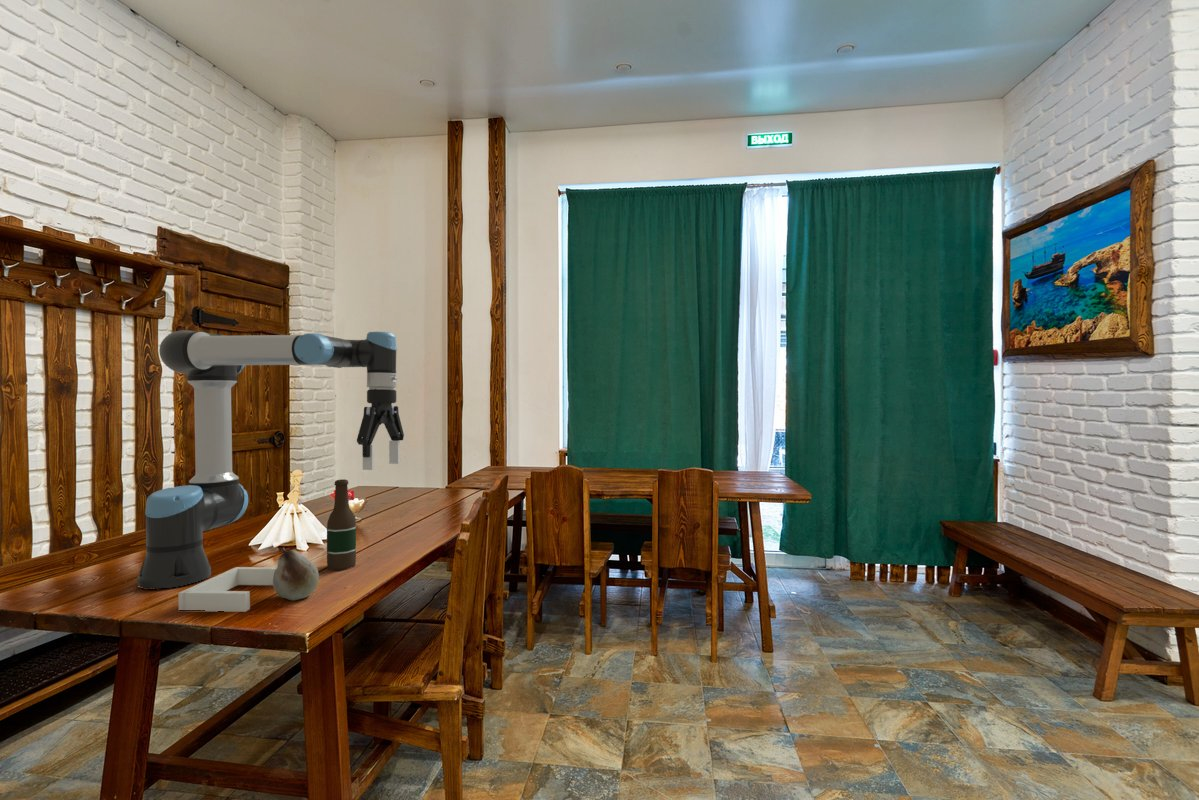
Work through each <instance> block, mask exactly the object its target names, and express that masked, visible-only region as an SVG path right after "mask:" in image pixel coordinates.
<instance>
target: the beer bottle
mask: <svg viewBox="0 0 1199 800" xmlns="http://www.w3.org/2000/svg"><path fill="white" fill-rule="evenodd" d="M348 485H349V480H348V479H337V480H334V488H335V489H334V504H333V510H332V511H331V513H330V514H329V517H328V520H327V523H326V567H327V570H330V569H332V570H331V571H342V569H345V570H349V569H352V568H355V567H354V566H356V564H357V563H356V561H357V522H356V516H355V514H354V512H353V510H352V509H351V508H350V504H349V502H350V501H349V490H348V489H349V487H348ZM351 567H352V568H351ZM348 568H349V569H348Z"/></svg>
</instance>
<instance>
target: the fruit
mask: <svg viewBox="0 0 1199 800" xmlns="http://www.w3.org/2000/svg"><path fill="white" fill-rule="evenodd" d="M280 551H281V552H282V554H281V555H279V557H278V560H277V569H276V570H275V572H274V577H273V585H272V586H273V589H274V591H275V593H276V594H277V595H278V596H279V597H280V598H282V599H287V600H289V601H292V602H293V601H298V600H302V599H305V598H307V597H309V596H310V595H312V594H313V593H314V592H315V590H316V589H317V586H318V585H319V578H320V577H319V576H320V575H319V569H318V567H317V565H316V564H315V563H314V562H312V561H311V560H309V559H308V557H306V556H305V555H303V554H301V553H300V552H298V551H297V550H295V549H289V550H287V551H286V549H285V547H282V546H281V548H280Z"/></svg>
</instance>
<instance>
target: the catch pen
mask: <svg viewBox="0 0 1199 800" xmlns="http://www.w3.org/2000/svg"><path fill="white" fill-rule="evenodd" d="M276 569H277V567H273V566H272V567H270V566H269V567H267V566H265V567H263V566H261V567H260V566H253V567H252V566H249V567H248V566H238V567H237V566H236V567H233V568H231V569H229V570H227V571H225V572H223V573H220V574H218V575H215V576H214V577H211V578H209V579H205V580H203V581H201V582H199V583H196V585H193V586H191V587H189V588H186V589H184V590H182V591H179V592H178V611H179V610H205V611H204V612H218V611H224V612H225V613H226V612H227V613H229V612H233V613H236V612H237V613H239V612H240V613H241V612H243V613H246V612H248V611H249V610H250V609H251V598H250V597H251V594H250V593H251V591H250V590H244V591H243V590H230V589H232V588H235V587H236V586H273V577H274V572H275V570H276ZM224 612H223V613H224Z"/></svg>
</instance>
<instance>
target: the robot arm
mask: <svg viewBox="0 0 1199 800" xmlns="http://www.w3.org/2000/svg"><path fill="white" fill-rule="evenodd" d="M397 350H398V348H397V337H396V335H395V334H394V333H392V332H388V331H368V332H367V334H366V338H365V339H344V338H338V337H334V336H330V335H329V336H328V335H323V334H322V333H316V332H315V333H311V332H309V333H304V334H278V335H277V334H274V335H273V334H271V335H269V334H267V335H265V334H264V335H262V334H260V335H259V334H256V335H254V334H253V335H223V334H217V333H208V332H205V331H195V330H190V329H188V330H186V329H184V330H183V329H182V330H176V331H173V332H171V333H169V334H168V335H166V336H165V337H164V338H163V339H162V341H161V342H160V344H159V357H160V359H161V361H162V364H164V366H166V367H167V368H168V369H169V370H171V371H173V372H176V373H178V374H184V375H186V376H187V377H186V380H187V381H186V382H187V383H188V384H189V385H190V386H191V387H193V389H194V390H193V393H194V394H193V395H194V396H193V397H194V400H193V401H194V402H193V405H194V447H195V449H194V450H195V451H194V452H195V454H194V455H195V464H194V465H195V475H194V476H193V477H191V479H189V480H188V485H179V486H178V485H177V486H174V487H167V488H163V489H159V490H157V491H154V492H152V493H151V494H150V495H149V496H147V498H146V504H145V506H146V507H145V510H144V514H145V546H146V547H145V548H146V549H145V552H146V554H145V556H144V559H143V562H142V564H141V566H140V569H139V573H138V575H137V585H138V586H140V587H143V588H152V589H153V588H154V589H157V590H159V589H158V588H169V589H172V588H171V587H176V588H179V587H178V586H181V587H184V586H183V585H186V586H188V585H187V584H190V585H192V584H191V583H194V582H197V583H199V582H198V581H200V582H202V581H201V580H203V581H205V580H207V579H208V578H210V577H211V575H212V571H211V570H212V567H211V564H210V563H209V559H208V557H207V555H206V552H205V549H204V546H203V545H204V544H203V542H204V541H203V538H204V537H203V532H206V531H209V530H212V529H213V530H214V529H217V528H220V527H225V526H228V525H230V524H232V523H233V522H234V523H235V522H236V521H237V520H239V519H240V518H241V517H242V516H243V515H244V514H245V513H246V510H247V509H248V506H249V505H248V504H249V495H248V491H247V490H246V489H245V488H244V486H243V485H242V484H240V477H239V476H238V475H237V474H235V473H234V472H233V438H232V437H233V436H232V435H233V433H232V431H233V430H232V427H233V425H232V421H233V420H232V387H234V386H235V385H236V384H238V375H239V374H240V373H242V370H243V369H244V368H245V366H286V365H287V366H289V365H291V366H292V365H293V366H294V365H295V366H296V365H299V366H301V365H302V366H307V365H308V366H311V365H312V366H316V365H317V366H326V367H329V368H337V369H340V368H341V369H342V368H366V387H367V388H368V389H367V391H366V402H367V404H371V406H364V408H363V414H362V416H363V417H362V419H361V423H360V427H359V431H358V434H357V438H356V442H357V444H358V445H362V448H361V449H362V470H363V471H364V470H367V471H374V470H375V469H374V468H375V453H374V452H375V451H374V450H375V449H374V448H375V447H374V446H375V445H374V444H372V443H373V441H374V440H375V437H376V434H377V432H378V430H379V427H380V426H381V425H384V426H385V427H384V428H385V429H386V431H387V434H388V437H389V438H390V440H389V441H388V443H389V445H388V451H389V453H388V457H389V461H388V463H389V464H392V465H393V464H394V465H400V462H401V460H400V459H401V458H400V451H401V450H400V441H404V438H405V437H404V436H405V433H404V430H403V425H402V422H401V418H400V415H399V406H398V405H392V404H396V403H397V391H396V389H395V388H397V379H398V376H397ZM206 578H207V579H206ZM204 579H205V580H204ZM194 584H195V583H194ZM138 586H137V587H138Z"/></svg>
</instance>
